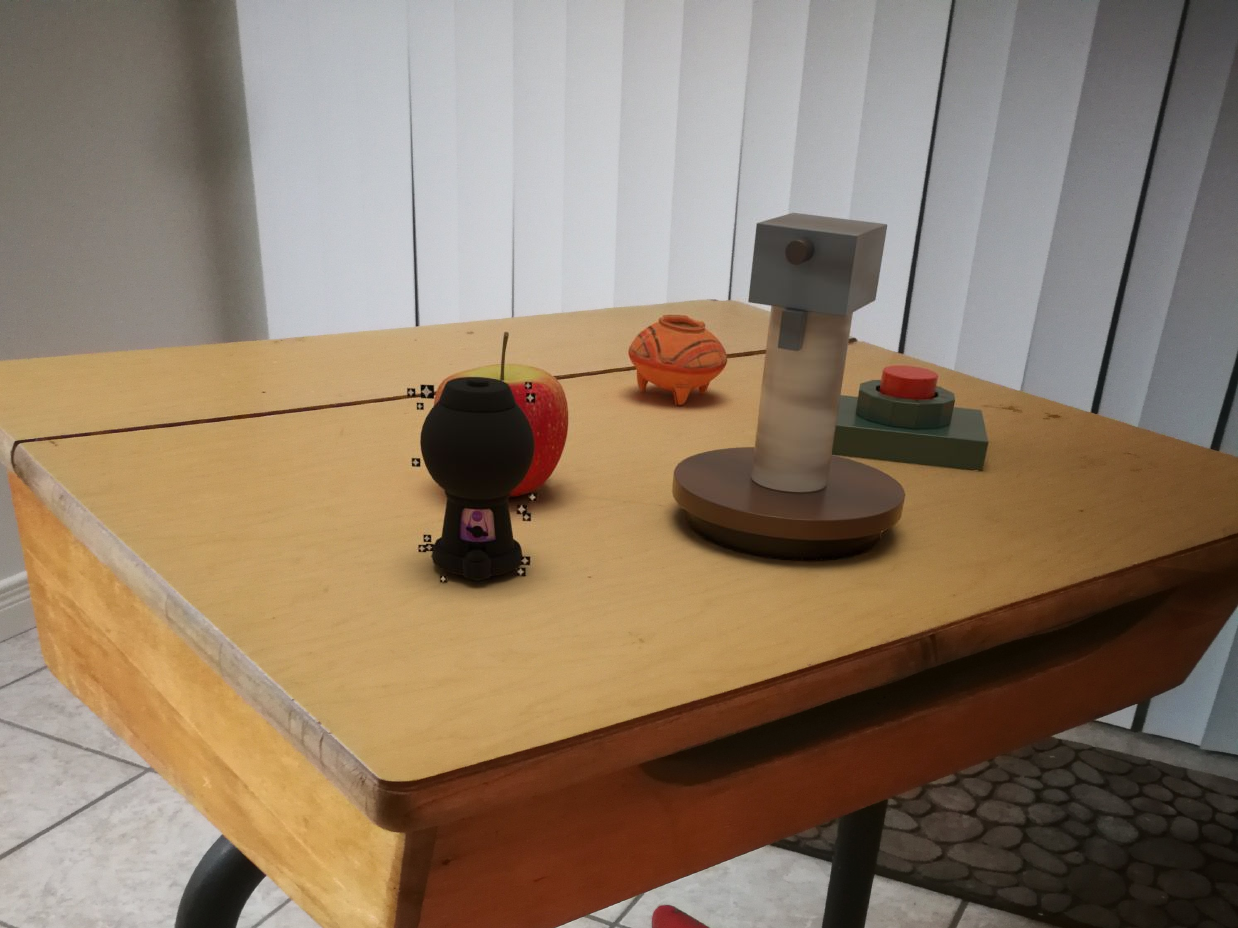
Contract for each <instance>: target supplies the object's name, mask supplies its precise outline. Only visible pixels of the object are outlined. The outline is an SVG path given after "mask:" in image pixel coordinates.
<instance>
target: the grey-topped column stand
mask: <svg viewBox="0 0 1238 928" xmlns="http://www.w3.org/2000/svg"><path fill="white" fill-rule="evenodd" d="M887 230H888V224H887V223H880V222H874V221H872V222H871V221H865V220H855V219H848V218H842V217H841V218H840V217H832V216H830V217H829V216H823V215H817V214H816V215H813V214H809V213H808V214H807V213H798V212H790V213H787V214H783V215H780V216H777V217H774V218H770V219H766V220H763V221H759V222H756V226H755V235H754V245H753V253H752V263H751V273H750V280H749V291H748V300H747V301H748V303H750V304H755V305H756V304H757V305H764V306H769V307H770V313H769V319H768V321H769V322H768V330H767V339H766V347H765V356H764V363H763V372H762V381H761V388H760V398H759V406H758V415H757V424H756V432H755V440H754V446H743V447H742V446H741V447H727V448H719V449H713V450H708V451H703V452H700V453H696V454H693V455H690V456H688V457H686V458H684V459H683V460H681V461H680V462H679V463H677V465H676V466H675V467H674V469H673V474H672V475H673V476H672V487H671V492H672V497H673V499H674V501H675V502H676V503H677V504H678V505H679V506H680V507H681V508H682V509H684V510H685V511H686V512H687V511H688V512H690V513H691V514H693V515H695V516H697V517H699V518H701V519H704V520H706V521H708V522H711V523H714V524H717V525H720V526H723V527H726V528H730V529H733V530H737V531H742V532H746V533H751V534H756V535H761V536H768V537H775V538H785V539H796V540H842V539H851V538H858V537H864V536H869V535H873V534H877V533H880V532H886V531H887V530H889V529H891V528H893V527H894V526H895V525H896V524H898V523H899V522H900V521H901V519H902V515H903V510H904V505H905V499H906V492H905V489H904V487H903V486H902V484H901V483H900V482H899V481H898V480H896V479H895V478H894V477H892V476H891V475H890V474H888V473H885V472H884V471H882V470H880V469H878V468H876V467H873V466H871V465H868V464H865V463H863V462H860V461H857V460H853V459H850V458H847V457H846V458H845V457H843V456H839V455H832V448H833V441H834V435H835V428H836V422H837V415H838V408H839V402H840V395H842V387H843V381H844V374H845V369H846V361H847V355H848V348H849V342H850V334H851V328H852V322H853V315H854V312H856V311H858V310H861V309H862V308H864V307H866V306H868V305H870V304H871V303H874V302H875V301H876V300H877V293H878V287H879V282H880V281H879V280H880V273H881V268H882V262H883V255H884V250H885V244H886V243H885V242H886V238H887V237H886V236H887V232H888V231H887Z"/></svg>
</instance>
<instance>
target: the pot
mask: <svg viewBox="0 0 1238 928" xmlns="http://www.w3.org/2000/svg"><path fill="white" fill-rule="evenodd" d="M627 353H628V357H629V359H630V362H631V363H632V365H633V366H634V368H635V369H636V383H637V386H638V389H639V391H640V392H641V393H644V392H646V389H647V385H648V384H649V383H651V384H652V385H653V386H656V387H658V388H660V389H662V390H666V391H670V392H672V393H673V399H674V403H675V406H682V405H684V404H685V403H686V402H687V399H688V398H689V394H690V392H691V391H693V390H696V389H698V394H700V395H704V394H705V393H706V392H707V390H708V388H709V386H710V383H711V382H712V381H713V380H715V379H716V378H717V377H718V376H719V375H720V374H721V373H723V371H724V370H725V368H726V366H727V364H728V354H727V351H726V349H725V347H724V345H723V344H722V342H721V341H720V340H719V338H718V337H716V336H715V334H713V332H711V331H710V330H708V329H707V328H706V324H705V322H704V321H703V320H701V321H699V320H696V319H694V318H691V317H689V316H688V315H683V314H664V315H662V316H661V317H659V318H658V321H657V322H653V323H652V324H651V325H649V326H647V327H645V328H644V329H643V330H642V331H640V332H639V333H638V334H637V335H636V336H635V338H634V339H633V340H632V342H631V344H630V345H629V347H628V350H627Z"/></svg>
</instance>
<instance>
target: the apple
mask: <svg viewBox="0 0 1238 928" xmlns="http://www.w3.org/2000/svg"><path fill="white" fill-rule="evenodd" d="M509 335H510V334H509V331H505V332H503V338H502V347H501V348H502V350H501V358H500V359H501V361H500V362H501V363H498V364H489V365H484V366H480V367H474V368H470V369H467V370H462V371H459V372H456V373H454V374H450V375H449V376H447V377H446V378H444V379H443V380H442V381H441V382H440V384H439V385H438V387H437V390H436V393H435V395H434V399H433V406H434V405H435V404H436V403H437V402H438V401H439V398H440V396H441V394H442V391H443V389H444V386H445V384H446V383H447V382H448V381H449V380H452V379H455V378H461V377H485V378H492V379H497V380H501V381H504V382H505V383H507V384H508V385H509V386H510V388H511V391H512V393H513V396H514V398H515V401H516V403H517V405H518V406H519V407H520V408H521V409H522V411H523V412H524V414H525V416H526V417H527V419H528V421H529V423H530V425H531V428H532V431H533V435H534V444H535V448H534V456H533V460H532V464H531V466H530V468H529V470H528V472H527V474H526V476H525V478H524V479H523V481H522V482H521V483H520V484H519V485H518V486H517V487H516V488H515V489H514V490H513V491H511V492H510V496H509V498H514V497H519V496H523V495H526V494H529V493H532V492H534V491H535V490H538V488H540V487H542V486H543V485H544V484H545V483H546V482H547V481H548V480H549V479H550V477H551V475H552V474H553V473H554V471H555V470H556V468H557V466H558V464H559V462H560V460H561V458H562V454H563V452H564V449H565V446H566V442H567V438H568V430H569V408H568V407H569V406H568V400H567V396H566V393H565V390H564V387H563V386H562V384H561V382H560V381H559V380H558V379H557V377H555V376H554V375H552V374H551V373H550V372H548V371H547V370H544V369H541V368H539V367H535V366H532V365H527V364H519V363H505V362H506V350H507V345H508V342H509V341H508V340H509ZM525 382H532V389H525ZM526 393H536V396H535V403H531V402H526Z"/></svg>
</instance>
